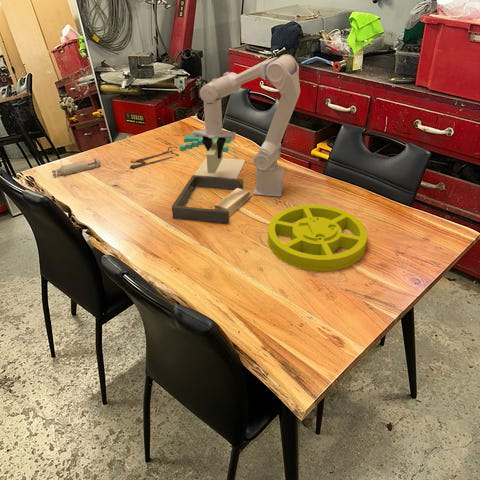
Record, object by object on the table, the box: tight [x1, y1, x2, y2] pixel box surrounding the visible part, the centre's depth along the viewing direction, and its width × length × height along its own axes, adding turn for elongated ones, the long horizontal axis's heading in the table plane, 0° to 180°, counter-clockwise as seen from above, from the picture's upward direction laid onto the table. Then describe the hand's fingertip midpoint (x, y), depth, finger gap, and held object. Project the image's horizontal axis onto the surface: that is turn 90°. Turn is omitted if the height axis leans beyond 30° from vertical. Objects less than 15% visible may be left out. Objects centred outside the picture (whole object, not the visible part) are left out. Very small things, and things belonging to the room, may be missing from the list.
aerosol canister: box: [51, 157, 101, 177], centre depth 164 cm, size 18×5×7 cm, turn 123°
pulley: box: [267, 204, 368, 272], centre depth 124 cm, size 28×28×5 cm
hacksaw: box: [129, 146, 180, 170], centre depth 174 cm, size 24×10×2 cm, turn 125°
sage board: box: [205, 140, 224, 174], centre depth 151 cm, size 2×12×7 cm, turn 168°
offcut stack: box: [214, 188, 253, 217], centre depth 142 cm, size 6×16×4 cm, turn 149°
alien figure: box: [179, 128, 232, 153], centre depth 186 cm, size 20×2×20 cm
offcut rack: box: [171, 174, 244, 225], centre depth 143 cm, size 18×22×4 cm
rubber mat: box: [194, 156, 247, 179], centre depth 164 cm, size 16×20×1 cm
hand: (215, 157), depth 152 cm, fingers closed on sage board, 2 cm apart
